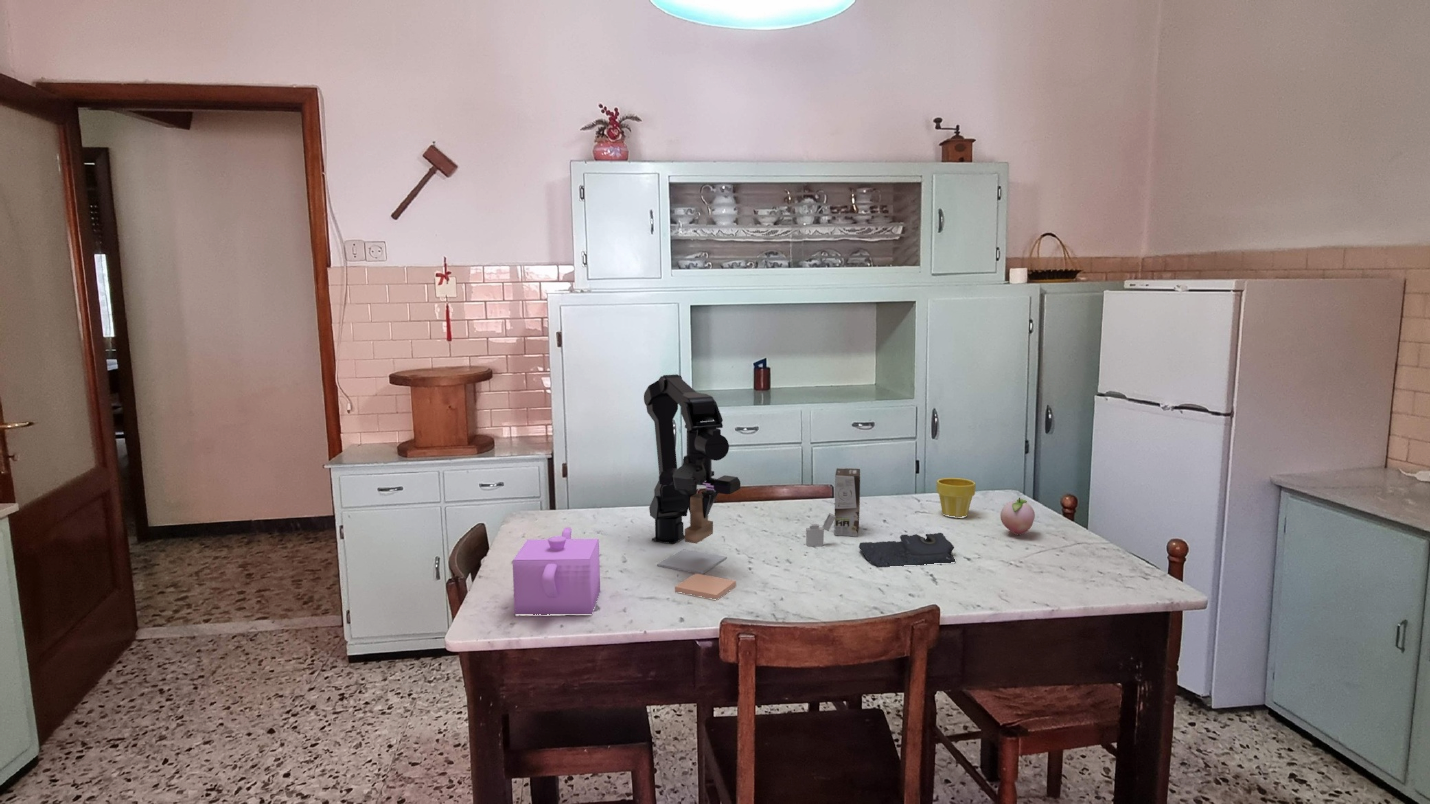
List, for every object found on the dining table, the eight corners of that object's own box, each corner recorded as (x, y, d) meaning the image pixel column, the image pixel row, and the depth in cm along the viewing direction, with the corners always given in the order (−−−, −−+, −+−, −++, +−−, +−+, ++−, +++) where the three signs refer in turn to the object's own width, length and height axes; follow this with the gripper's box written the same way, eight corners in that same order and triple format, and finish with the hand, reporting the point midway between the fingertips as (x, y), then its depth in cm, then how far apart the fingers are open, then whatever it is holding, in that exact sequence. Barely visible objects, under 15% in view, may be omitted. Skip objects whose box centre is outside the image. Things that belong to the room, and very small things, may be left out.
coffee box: (858, 537, 207) (860, 476, 205) (833, 535, 209) (834, 475, 206) (859, 526, 216) (860, 468, 214) (835, 525, 217) (836, 467, 215)
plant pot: (948, 508, 234) (949, 475, 232) (981, 515, 226) (982, 481, 225) (928, 515, 227) (929, 481, 225) (961, 523, 219) (962, 488, 218)
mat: (657, 565, 187) (657, 563, 187) (683, 550, 197) (683, 549, 197) (702, 574, 181) (702, 572, 181) (726, 558, 191) (726, 556, 191)
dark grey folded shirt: (852, 549, 199) (852, 531, 198) (935, 544, 203) (936, 526, 202) (873, 570, 184) (874, 550, 183) (963, 565, 188) (964, 545, 187)
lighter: (807, 546, 200) (807, 515, 199) (805, 544, 202) (806, 513, 201) (835, 545, 201) (835, 514, 199) (833, 543, 202) (834, 512, 201)
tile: (695, 580, 178) (675, 594, 171) (695, 573, 178) (674, 586, 170) (736, 588, 174) (716, 602, 166) (736, 580, 174) (716, 595, 166)
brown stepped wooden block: (684, 541, 184) (684, 499, 182) (701, 531, 191) (701, 490, 189) (696, 543, 182) (696, 501, 181) (712, 533, 189) (713, 492, 188)
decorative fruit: (1001, 528, 214) (1003, 491, 213) (1034, 532, 211) (1036, 495, 209) (997, 538, 206) (999, 500, 204) (1031, 542, 202) (1033, 503, 201)
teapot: (604, 579, 178) (602, 518, 176) (588, 626, 154) (586, 556, 152) (536, 580, 178) (533, 519, 176) (508, 627, 154) (505, 557, 152)
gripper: (645, 453, 180) (646, 520, 183) (718, 463, 172) (718, 533, 174) (671, 444, 190) (671, 507, 193) (741, 452, 181) (741, 519, 184)
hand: (699, 516), depth 186 cm, fingers closed on brown stepped wooden block, 3 cm apart
